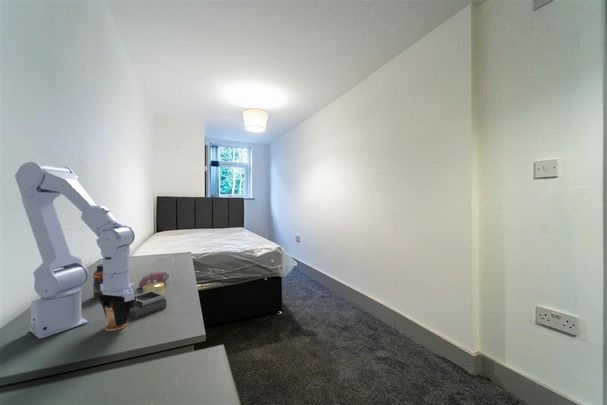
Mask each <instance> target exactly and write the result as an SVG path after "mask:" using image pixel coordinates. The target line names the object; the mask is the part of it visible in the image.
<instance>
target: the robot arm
mask: <svg viewBox="0 0 607 405" xmlns="http://www.w3.org/2000/svg"><path fill="white" fill-rule="evenodd" d="M14 177H15V178H14V179H15V180H16V183H17V187H18V189H19V192H20V195H21V200H22V205H23V207H24V210H25V213H26V216H27V220H28V223H29V225H30V228H31V231H32V234H33V237H34V240H35V243H36V246H37V249H38V251H39V252H38V253H39V254H40V257H41V260H42V263H41V264H39V266H38V267H37V268H36V269H35V270H34V271H33V276H34V283H33V284H34V285H33V286H34V290H35V293H36V294H37V295H38V296H40V298H37V299H34V300H32V301H31V303H30V329H29V332H31V333H32V334H33V335H34V336H35V337H37V338H38V339H39V340H40V339H44V338H47V337H49V336H52V335H56V334H58V333H62V332H64V331H67V330H70V329H74V328H75V327H79V326H82V325H85V324H87V323H88V319H85V318H84V317H82V290H83V289H84V288H85V284H87V282H88V281H89V278H90V272H89V269H88V268H87V267H86V266H85V265H84V264H83V261H82V259H81V258H80V257H77V256H74V255H73V254H71V252H70V249H69V245H68V242H67V240H66V238H65V234H64V231H63V228H62V226H61V222H60V219H59V217H58V213H57V211H56V207H55V205H54V201H55V199H56V198H59V197H60V196H61V195H63V196H64V197H65V198H66V199H67V200H68V201H70V202H71V203H72V205H74V206H75V207H76V208H77V210H79V211H80V212H81V216H80V219H81V220H82V221H83V223H84V224H85V225H86V226H87V227H88V229H90V230H91V231H92V232H93V234H95V236H96V237H97V239H95V240H96V241H95V242H96V244H97V246H98V248H99V249H100V255H101V256H102V264H103V284H100V291H102V295H99V296H97V300H98V301H99V303H100V304H101V306H102V309H103V313H104V315H105V317H106V310H105V306H106V305H108V304H110V305H111V307H112V309H113V312H114V317H115V323H116V326H120V325H122V324H125V323H126V322H128V319H129V312H130V309H131V307H132V305H133V303H134V301H135V300H136V296H137V295H135V291H133V288H134V287H135V283H132V282H130V271H131V270H130V269H131V267H130V265H131V264H130V262H131V260H130V258H131V257H130V256H131V255H130V254H131V253H130V251H131V250H130V248H131V247H130V246H131V245H132V244H133V242H134V241H135V238H136V235H135V232H134V230H133V229H132V227H131V226H129V225H124V224H123V223H121V222H120V220H119V221H118V220H117V218H115V216H114V215H113V214H112V213H111V212H110V211H111V210H110V209H109V208H108V207H107V206H104V205H97V204H96V203H95V201H94V200H93V199H92V198H91V196H90V195H89V194H88V192H87V191H86V190H85V188H84V187H83V186H82V185H81V183H80V182H79V176H78V175H77V174H76V173H75V172H74V171H73V169H72V168H70V167H68V166H57V165H51V164H46V163H45V164H43V163H37V162H33V161H28V162H24V163H23V164H22V165H20V166H19V168H18V170H17V171H16V173H15V174H14ZM57 269H58V270H57Z"/></svg>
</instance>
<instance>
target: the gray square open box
mask: <svg viewBox="0 0 607 405" xmlns="http://www.w3.org/2000/svg"><path fill="white" fill-rule="evenodd" d="M135 296H136V300H135V301H134V303H133V305H132V307H131V309H130V312H129V315H128V317H132V318H134V320H135V319H139V318H142V317H144V316H146V315H149V314H153V313H154V312H157V311H160V310H163V309H165V308H167V298H166V295H165V294H164V295H163V294H160V293H157V292H154V291H150V292H146V293H141V294H136V295H135Z"/></svg>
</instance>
